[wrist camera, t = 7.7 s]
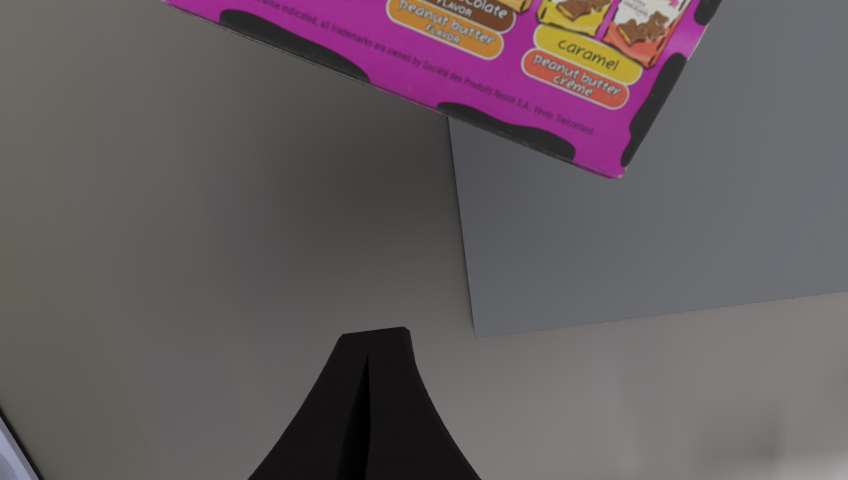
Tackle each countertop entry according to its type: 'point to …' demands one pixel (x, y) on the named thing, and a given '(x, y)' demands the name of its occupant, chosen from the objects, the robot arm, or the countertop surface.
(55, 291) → the countertop surface
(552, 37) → the candy bar box
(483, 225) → the mat
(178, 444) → the countertop surface
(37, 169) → the countertop surface
